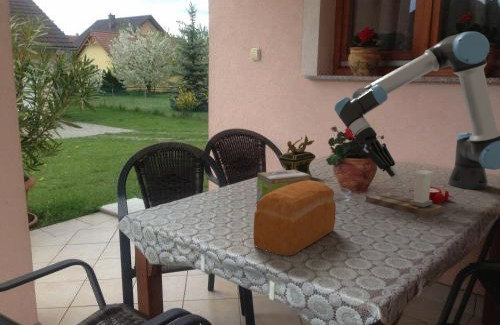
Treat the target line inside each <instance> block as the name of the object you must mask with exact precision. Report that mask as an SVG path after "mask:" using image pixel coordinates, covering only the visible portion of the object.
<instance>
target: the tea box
mask: <svg viewBox="0 0 500 325" xmlns="http://www.w3.org/2000/svg"><path fill="white" fill-rule="evenodd" d="M311 175H312V174H311ZM311 175H309V174H306V173H303V172H300V171H297V170H285V169H284V170H278V171H266V172H257V178H256V180H257V182H256V203H257V202H258V201H259V200H260V199H261V198H262V197H263V196H264V195H266V194H268V193H270V192H272V191H274V190H277V189H279V188H281V187H284V186H287V185H289V184H293V183H297V182H301V181H306V180H311V178H312V176H311ZM311 181H312V180H311ZM255 209H256V210H257V207H256V208H255ZM256 210H255V211H256Z"/></svg>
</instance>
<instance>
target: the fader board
mask: <svg viewBox="0 0 500 325" xmlns="http://www.w3.org/2000/svg"><path fill="white" fill-rule="evenodd" d="M413 199H414V198H409V197H404V196H399V195H397V194H392V193H387V192H383V191H379V192H378V193H374V194H370V195H367V196H366V198H365V202H367V203H370V204H373V205H378V206H381V207H385V208H389V209H393V210H398V211H400V212H405V213H408V214H413V215H417V216H419V217H420V216H421V217H424V218H431V217H433V216H436V215H438V214H440V213H442V212H443V208H444V207H443V205H441V204H436V203H432V204H431V205H428V206H426V207H420V206H416V205H412V204H410V200H413Z"/></svg>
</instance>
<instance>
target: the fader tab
mask: <svg viewBox="0 0 500 325" xmlns="http://www.w3.org/2000/svg"><path fill="white" fill-rule="evenodd" d="M412 175H413V176H414V179H415V180H414V191H413V195H414V198H412V199H413V200H410V204H412V205H416V206H420V207H426V206H428V205H431V204H433V202H432V200H429V194H430V187H431V180H432V177H433V176H434V171H430V170H424V169H420V170H417V171H416V170H415V171H414V172H413V174H412Z"/></svg>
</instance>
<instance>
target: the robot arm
mask: <svg viewBox="0 0 500 325" xmlns="http://www.w3.org/2000/svg"><path fill="white" fill-rule="evenodd" d="M489 53H490V42H489V40H488V38H487V37H486V36H485V35H484V34H482V33H481V32H478V31H464V32H461V33H457V34H454V35H450V36H447V37H445V38H444V39H442V40H440V41H439V42H438V43H436V44H434V45H433V46H431V47H429V48H428V49H425V51H424V53H423V54H422V55H420V56H418V57H415V59H412V60H411V61H409V62H407V63H406V64H404V65H402V66H399V67H398V68H396V69H394V70H392V71H391V72H388V73H387V74H385V75H384V76H381V77H380V78H377V79H375V81H373V82H371V83H369V84H366V85H365V86H363V87H360V88H357V89H356V90H354V91H353V92H352V94H351V98H350V97H348V96H345V97H344V98H341V99H340V100H338V101H337V102H336V103H335V105H334V111H335V112H336V115H337V117H339V119H340V120H341V121H342V123H343V124H344V125H345V127H346V128H347V130H349V129H350V130H351V131H352V134H353V135H352V134H351V135H352V137H354V136H355V135H356V137H354V138H355V139H354V140H355V141H356V142H357V143H358V146H361V147H363V149H362V153H363V154H365V155H367V157H368V158H369V159H370V160H371V161H372V163H373V164H375V166H376V167H377V168H378V169H379V170H382V172H383V173H384V172H385V171H386V173H387V175H388V176H389V177H390V178H391V180H392V181H393V183H395V185H396V186H398V185H400V184H401V183H403V182H404V179H403V177H402V176H401V174H400V173H399V172H398V171H397V169H396V168H395V167H394V166H395V165H396V162H395V159H394V158H393V157H392V154H391V153H390V151H389V149H388V147H387V144H386V143H381V142H380V141H379V139H377V132H376V131H375V130H374V128H373V127H371V124H370V123H369V121H368V120H367V119H366V117H365V115H366V114H368V113H369V112H371V111H373V110H374V109H376V108H378V107H379V106H381V105H383V104H384V102H387V100H388V99H389V96H388V95H390V94H391V93H393V92H395V91H397V90H399V89H400V88H402V87H405V86H406V85H408V84H410V83H411V82H413V81H416V80H418V79H419V78H422V77H423V76H425V75H427V74H428V73H430V72H433V71H434V72H437V71H439V70H441V69H444V68H447V67H451V69H452V73H453V74H455V75H456V76H458V78H459V80H458V81H459V83H460V87H461V91H462V96H463V100H464V105H465V107H466V108H465V109H466V113H467V116H468V120H469V126H470V128H471V129H470V130H471V132H460V133H458V135H457V139H456V146H455V148H456V149H455V157H454V158H455V159H454V166H453V169H452V171H451V173H450V175H449V177H448V185H451V186H452V187H457V188H460V189H461V188H462V189H466V190H467V189H468V190H469V189H470V190H484V189H487V188H488V184H489V181H488V177H487V172H486V170H493V171H496V170H500V129H498V126H497V124H496V117H495V114H494V110H493V106H492V101H491V97H490V92H489V88H488V87H489V86H488V82H487V78H486V74H485V70H484V69H485V67H486V66H487V64H488V61H487V56H488V54H489Z"/></svg>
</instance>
